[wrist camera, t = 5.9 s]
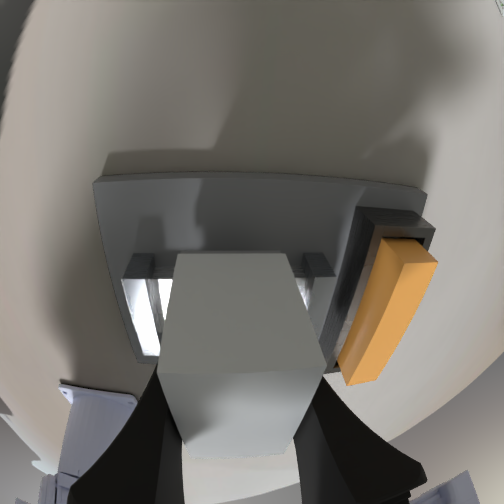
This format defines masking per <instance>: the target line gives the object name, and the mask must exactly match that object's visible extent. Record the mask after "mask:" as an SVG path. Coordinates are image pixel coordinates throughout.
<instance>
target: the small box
mask: <svg viewBox="0 0 504 504" xmlns="http://www.w3.org/2000/svg"><path fill="white" fill-rule="evenodd" d="M496 3H497V5H498V7H499V10H500V12H501V15H502V17H504V0H496Z"/></svg>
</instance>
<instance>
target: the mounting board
mask: <svg viewBox="0 0 504 504" xmlns="http://www.w3.org/2000/svg"><path fill="white" fill-rule="evenodd" d="M92 184H93V191H94V198H95V204H96V211H97V216H98V222H99V227H100V232H101V237H102V242H103V247H104V251H105V256H106V260H107V264H108V269H109V273H110V276H111V280H112V284H113V288H114V291H115V295H116V298H117V302H118V305H119V309H120V312H121V315H122V318H123V321H124V325H125V328H126V331H127V334H128V336H129V339H130V342H131V345H132V348H133V351H134V353H135V356H136V359H137V361H138V363H149V364H157V363H158V360H159V356H149V355H144V353H143V350H142V347H141V344H140V341H139V338H138V335H137V332H135V329H134V325H133V322H132V319H131V315H130V312H129V308H128V305H127V301H126V297H125V293H124V289H123V285H122V281H121V277H122V275H123V273H124V270H125V268H126V266H128V264H129V262H130V259H131V257H132V255H133V253H154V261H155V267H175V264H176V260H177V255H178V254H180V252H181V251H276V250H280V251H281V253H285V254H286V256H287V259H288V261H289V264H290V266H301V262H302V257H303V253H319V252H323V254H324V256H325V257H326V259H327V261H328V262H329V264H330V266H331V268H332V269H333V271H334V273H335V275H336V276H337V278H336V281H335V285H334V288H333V292H332V295H331V299H330V302H329V306H328V309H327V312H326V315H325V319H324V322H323V325H322V328H321V331H320V334H319V337H318V341H319V338H320V335H321V332H322V329H323V326H324V323H325V320H326V316H327V313H328V310H329V307H330V303H331V300H332V297H333V293H334V290H335V286H336V283H337V279H338V276H339V272H340V268H341V265H342V261H343V257H344V253H345V249H346V245H347V241H348V237H349V233H350V229H351V224H352V220H353V215H354V211H355V206H363V207H376V208H389V209H400V210H411V211H414V212H416V213H417V214H418V215H420V216H422V213H423V209H424V206H425V202H426V199H427V195H428V194H426V193H425V192H423V191H422V190H420V189H419V188H417V187H410V186H404V185H397V184H389V183H382V182H374V181H365V180H356V179H347V178H336V177H325V176H312V175H298V174H280V173H256V172H165V173H142V174H125V175H111V176H101V177H99V178H98V179H97V180H96V181H94V182H93V183H92ZM382 238H392V239H398V238H399V237H383V236H382ZM376 256H377V255H376ZM365 289H366V288H365ZM353 321H354V320H353ZM349 331H350V330H349Z"/></svg>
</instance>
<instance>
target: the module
mask: <svg viewBox="0 0 504 504" xmlns="http://www.w3.org/2000/svg"><path fill="white" fill-rule="evenodd" d="M326 367H327V364H326V361H325V359H324V356H323V353H322V350H321V347H320V345H319V342H318V339H317V336H316V333H315V331H314V328H313V325H312V322H311V320H310V317H309V314H308V312H307V309H306V306H305V304H304V301H303V298H302V296H301V293H300V290H299V288H298V285H297V282H296V280H295V277H294V274H293V272H292V269H291V267H290V264H289V261H288V259H287V256H286V254H285V253H281V251H280V250H276V251H181V252H180V254H178V255H177V260H176V264H175V269H174V274H173V279H172V284H171V289H170V294H169V300H168V305H167V311H166V316H165V322H164V328H163V334H162V340H161V347H160V353H159V360H158V367H157V375H158V378H159V381H160V383H161V386H162V389H163V392H164V395H165V397H166V400H167V403H168V405H169V408H170V411H171V413H172V416H173V418H174V421H175V423H176V426H177V428H178V430H179V433H180V435H181V438H182V440H183V442H184V444H185V447H186V449H187V451H188V453H189V455H190V458H195V459H225V458H247V457H260V456H270V455H279V454H284V453H285V451H286V449H287V447H288V446H289V444H290V442H291V440H292V438H293V436H294V434H295V433H296V431H297V429H298V427H299V425H300V423H301V421H302V419H303V417H304V415H305V413H306V411H307V409H308V407H309V405H310V403H311V400H312V398H313V396H314V394H315V392H316V390H317V387H318V385H319V383H320V381H321V379H322V376H323V374H324V372H325V369H326Z"/></svg>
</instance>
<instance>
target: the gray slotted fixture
mask: <svg viewBox="0 0 504 504" xmlns="http://www.w3.org/2000/svg"><path fill="white" fill-rule="evenodd" d="M435 230H436V228H434V227H433V226H432V225H431V224H430V223H428V222H427V221H426V220H425V219H423V218H422V217H421V216H420V215H418V214H417V213H416V212H414V211H411V210H400V209H389V208H376V207H363V206H355V211H354V215H353V220H352V224H351V229H350V233H349V237H348V241H347V245H346V249H345V253H344V257H343V261H342V265H341V268H340V272H339V276H338V279H337V283H336V286H335V290H334V293H333V297H332V300H331V303H330V307H329V310H328V313H327V316H326V320H325V323H324V326H323V329H322V332H321V335H320V338H319V341H318V342H319V345H320V347H321V350H322V353H323V356H324V359H325V361H326V364H327V367H326V369H325V372H324V374H328V373H334V372H341V369H340V367H339V364H338V362H337V359H338V356H339V354H340V352H341V350H342V347H343V345H344V343H345V340H346V338H347V335H348V333H349V330H350V328H351V326H352V323H353V320H354V318H355V315H356V313H357V310H358V308H359V305H360V302H361V300H362V297H363V294H364V291H365V288H366V286H367V283H368V280H369V277H370V274H371V271H372V268H373V265H374V262H375V259H376V255H377V252H378V249H379V246H380V242H381V239H382V236H383V237H399V238H398V239H415V240H416V241H417V242H418V243H419V244H420V245H421V246H422V247H423V248H425V249H426V250H427V251H428V249H429V247H430V244H431V241H432V238H433V235H434V232H435ZM290 267H291V269H292V272H293V274H294V277H295V280H296V282H297V285H298V288H299V290H300V293H301V296H302V298H303V301H304V304H305V306H306V309H307V312H308V314H309V317H310V320H311V322H312V325H313V328H314V331H315V333H316V336H317V339H318V337H319V334H320V331H321V328H322V325H323V322H324V319H325V315H326V312H327V309H328V306H329V302H330V299H331V295H332V292H333V288H334V285H335V281H336V278H337V276H336V275H335V273H334V271H333V269H332V268H331V266H330V264H329V262H328V261H327V259H326V257H325V256H324V254H323V252H319V253H303V257H302V262H301V266H290ZM174 269H175V267H155V261H154V253H133V255H132V257H131V259H130V262H129V264H128V266H126V268H125V270H124V273H123V275H122V277H121V281H122V285H123V289H124V293H125V297H126V301H127V305H128V308H129V312H130V315H131V319H132V322H133V325H134V329H135V332H137V335H138V338H139V341H140V344H141V347H142V350H143V353H144V355H149V356H159V353H160V347H161V340H162V334H163V328H164V322H165V316H166V311H167V305H168V300H169V294H170V289H171V284H172V279H173V274H174Z"/></svg>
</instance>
